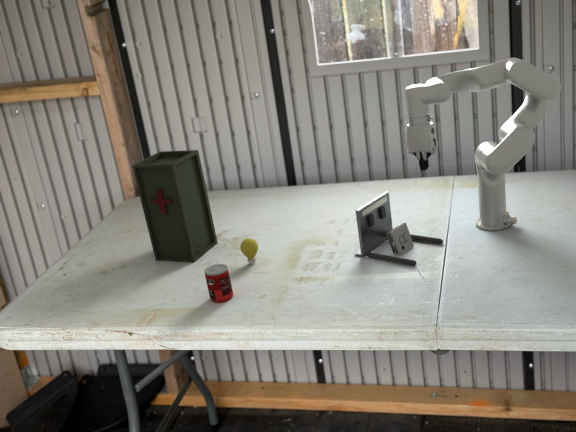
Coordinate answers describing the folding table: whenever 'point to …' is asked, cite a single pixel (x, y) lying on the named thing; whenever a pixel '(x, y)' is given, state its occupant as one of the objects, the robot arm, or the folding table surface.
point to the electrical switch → (400, 239)
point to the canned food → (218, 283)
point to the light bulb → (249, 250)
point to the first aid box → (176, 205)
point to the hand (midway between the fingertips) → (424, 169)
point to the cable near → (391, 259)
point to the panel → (373, 223)
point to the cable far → (426, 239)
